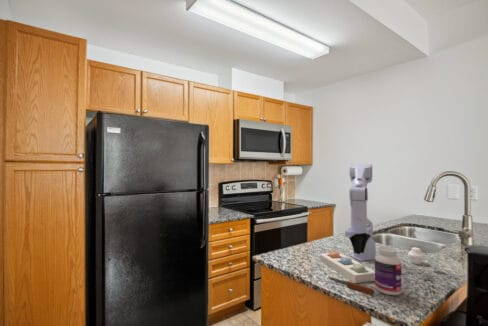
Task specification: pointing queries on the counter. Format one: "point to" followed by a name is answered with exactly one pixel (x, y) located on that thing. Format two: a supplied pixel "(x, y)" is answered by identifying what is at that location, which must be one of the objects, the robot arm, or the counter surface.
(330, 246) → the counter surface
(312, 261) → the counter surface
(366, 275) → the button panel
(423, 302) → the counter surface
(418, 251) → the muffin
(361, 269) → the green button
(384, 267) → the pill bottle
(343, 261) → the blue button
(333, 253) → the terracotta button
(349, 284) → the kitchen knife
